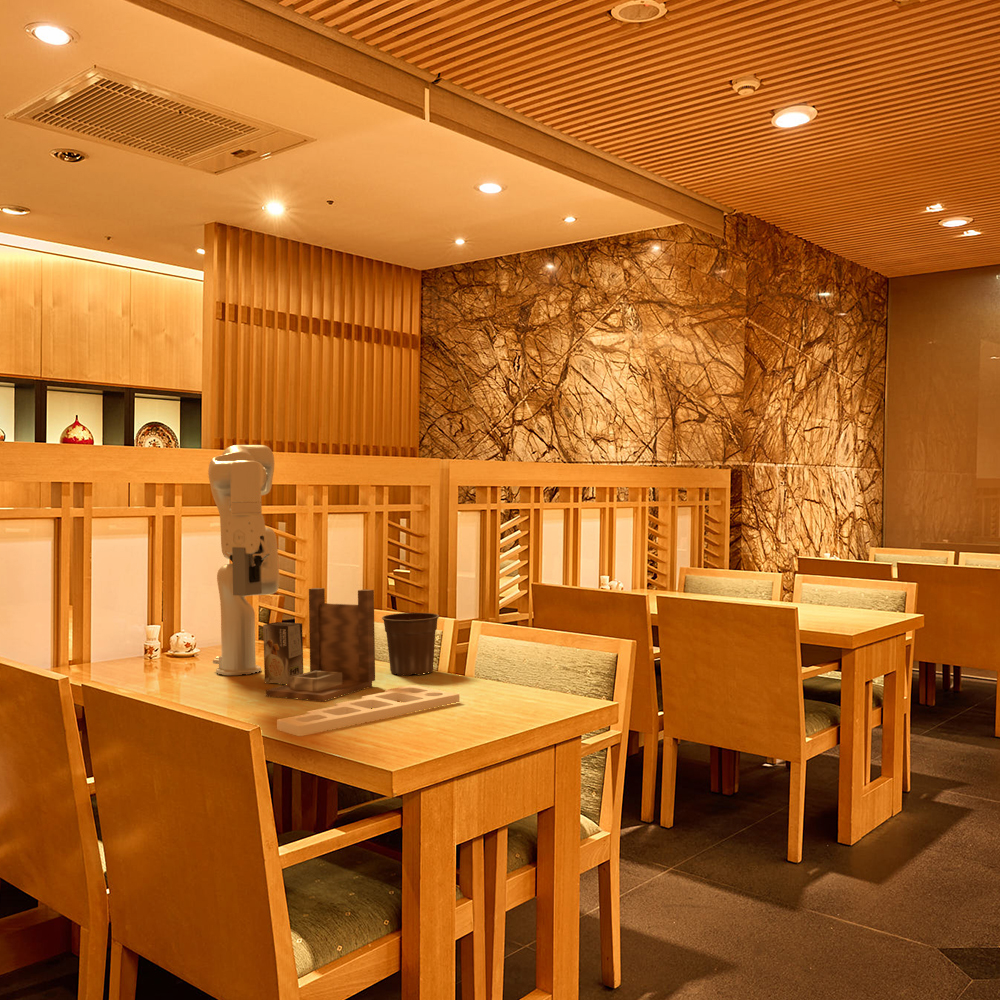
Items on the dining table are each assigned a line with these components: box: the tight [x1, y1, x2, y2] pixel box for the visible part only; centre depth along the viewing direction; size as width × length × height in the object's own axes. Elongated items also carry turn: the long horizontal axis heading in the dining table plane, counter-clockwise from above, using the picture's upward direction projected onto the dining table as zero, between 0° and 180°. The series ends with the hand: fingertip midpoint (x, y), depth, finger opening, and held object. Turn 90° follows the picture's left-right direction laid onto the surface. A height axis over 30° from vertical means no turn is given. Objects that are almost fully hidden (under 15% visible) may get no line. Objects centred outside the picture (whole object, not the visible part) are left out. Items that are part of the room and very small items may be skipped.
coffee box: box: [262, 621, 304, 685], centre depth 266 cm, size 9×6×16 cm
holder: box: [276, 684, 461, 737], centre depth 226 cm, size 45×18×3 cm, turn 134°
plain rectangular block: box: [231, 547, 262, 597], centre depth 247 cm, size 4×6×12 cm, turn 152°
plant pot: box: [381, 612, 440, 676], centre depth 278 cm, size 16×16×16 cm
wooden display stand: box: [265, 587, 376, 702], centre depth 253 cm, size 19×22×26 cm
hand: (247, 581), depth 247 cm, fingers closed on plain rectangular block, 4 cm apart
